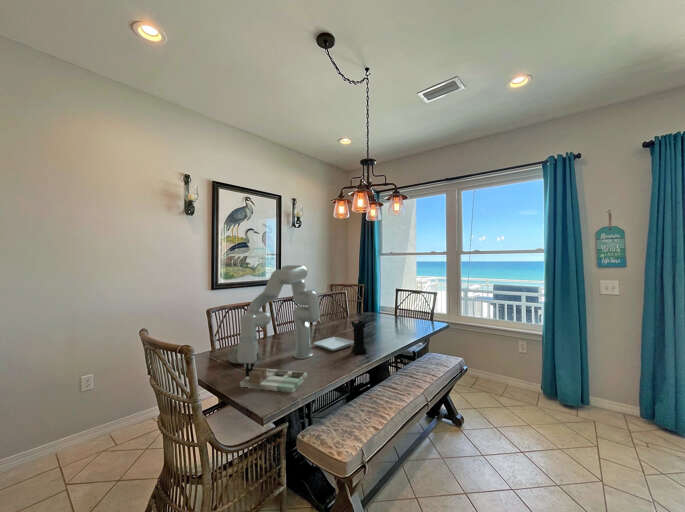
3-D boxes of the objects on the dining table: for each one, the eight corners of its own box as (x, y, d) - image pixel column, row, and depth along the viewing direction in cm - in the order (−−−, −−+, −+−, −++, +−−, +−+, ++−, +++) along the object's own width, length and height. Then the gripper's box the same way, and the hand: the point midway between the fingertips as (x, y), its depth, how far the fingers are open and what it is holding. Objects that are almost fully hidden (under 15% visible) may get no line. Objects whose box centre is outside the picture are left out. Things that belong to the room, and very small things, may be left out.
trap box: (259, 372, 156) (259, 367, 156) (307, 376, 149) (307, 372, 149) (240, 387, 138) (239, 382, 139) (292, 393, 131) (292, 387, 131)
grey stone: (245, 354, 186) (245, 339, 186) (265, 359, 176) (264, 343, 177) (221, 363, 170) (221, 347, 170) (241, 369, 161) (241, 351, 161)
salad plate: (312, 347, 199) (312, 342, 199) (335, 340, 214) (334, 335, 214) (333, 354, 184) (333, 348, 184) (355, 346, 199) (355, 341, 199)
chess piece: (367, 353, 182) (366, 322, 182) (356, 355, 179) (355, 324, 179) (362, 350, 189) (361, 320, 189) (351, 351, 186) (350, 321, 186)
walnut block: (256, 377, 144) (255, 367, 144) (266, 378, 142) (266, 368, 142) (249, 382, 138) (248, 372, 138) (259, 383, 136) (259, 373, 136)
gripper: (230, 340, 141) (231, 377, 140) (257, 342, 137) (258, 380, 136) (240, 336, 148) (240, 371, 148) (265, 337, 144) (266, 373, 144)
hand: (249, 375), depth 142 cm, fingers closed
